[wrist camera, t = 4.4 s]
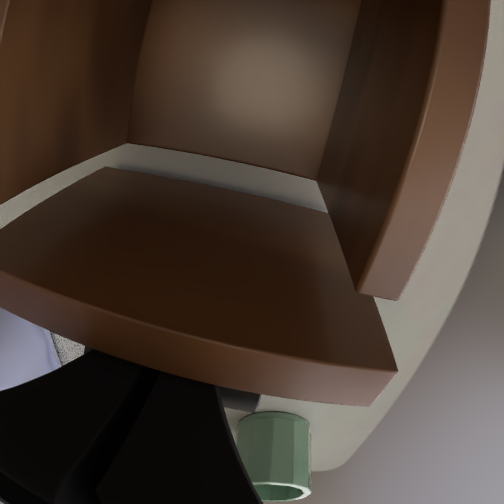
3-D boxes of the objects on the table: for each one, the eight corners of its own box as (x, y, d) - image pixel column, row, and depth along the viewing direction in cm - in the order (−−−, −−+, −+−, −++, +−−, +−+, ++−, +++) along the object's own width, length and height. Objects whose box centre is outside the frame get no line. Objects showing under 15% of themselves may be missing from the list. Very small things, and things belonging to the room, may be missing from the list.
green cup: (296, 446, 22) (295, 504, 17) (232, 437, 22) (223, 496, 17) (320, 416, 19) (323, 485, 14) (245, 405, 19) (235, 477, 14)
